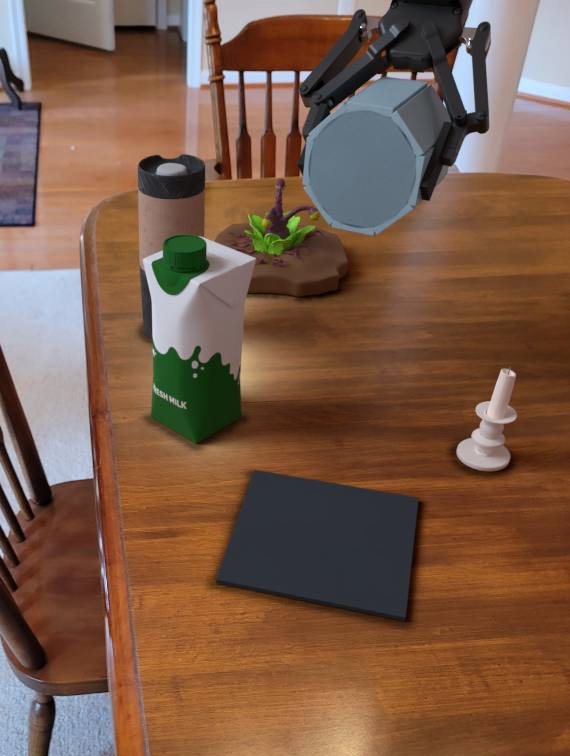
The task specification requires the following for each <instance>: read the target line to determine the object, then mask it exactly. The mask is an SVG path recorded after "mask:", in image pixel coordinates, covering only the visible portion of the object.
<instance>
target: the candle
mask: <svg viewBox="0 0 570 756" xmlns="http://www.w3.org/2000/svg"><path fill="white" fill-rule="evenodd" d="M511 368H512V367H511V366H509V367H508V368H501V369H500V372H499V374H498V378H497V380H496V383H495V385H494V389H493V392H492V395H491V399H490V400H486V401H482V402H479V403H478V404H476V406H475V413H476V415H477V416H478V418H480V419H482V420H481V421H480V423H479V427H478V428H476V429H474V430H473V431H472V433H471V435H470V437H469V438H466V439H464V440H461V441H460V442H459V443H458V445H457V448H456V449H455V451H456V456H457V458H458V459H459V461H460V462H461V463H463V464H464V465H465V466H467V467H469V468H471V469H473V470H477V471H481V472H497V471H501V470H503V469H505V468H506V467H507V466H508V465H509V464H510V461H511V453H510V451H509V450H508V448H507V447H506V446H504V445H505V442H506V437H505V435H504V434H503V431H504V429H505V424H506V425H507V424H511V423H512V422H513V423H514V421H516V419H517V417H518V412H517V411H516V410H515V408H513V407H512V406H511V405H509V403H510V400H511V397H512V393H513V390H514V386H515V381H516V378H517V373H515V371H513V370H511Z"/></svg>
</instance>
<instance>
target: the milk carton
mask: <svg viewBox="0 0 570 756" xmlns="http://www.w3.org/2000/svg"><path fill="white" fill-rule="evenodd" d="M255 262H256V258H254V257H252V256H249V255H247V254H244V253H242V252H239V251H236V250H234V249H231V248H229V247H226V246H224V245H221V244H219V243H216V242H215V240H214V241H213V240H211V239H209V238H206V237H205V236H204V237H201V236H199V237H198V236H194V235H175V236H171V237H169V238H167V239H166V240H165V241H164V242H163V250H162V251H160V252H158V253H155V254H153V255H151V256H148V257H146V258H144V259H143V264H144V268H145V272H146V277H147V281H148V286H149V290H150V295H151V301H152V336H153V339H152V386H151V387H152V389H151V407H150V418H151V419H153V420H155V421H157V422H158V423H160V424H162V425H163V426H166V427H167V428H168V429H170V430H172V431H174V432H175V433H177V434H179V435H181V436H182V437H184V438H186V439H187V440H189V441H191V442H193V443H195V444H199V443H200V442H202V441H204V440H205V439H207V438H208V437H210V436H212V435H214V434H215V433H217V432H219V431H220V430H222V429H224V428H225V427H227V426H229V425H230V424H232V423H234V422H235V421H237V420H239V419H241V418H243V416H242V390H241V389H242V388H241V369H242V355H243V354H242V353H243V336H244V321H245V307H246V299H247V297H248V293H247V292H248V288H249V285H250V281H251V277H252V273H253V270H254V266H255Z"/></svg>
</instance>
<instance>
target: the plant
mask: <svg viewBox="0 0 570 756" xmlns="http://www.w3.org/2000/svg"><path fill="white" fill-rule="evenodd" d="M286 187H287V182H286V181H285V179H283V178H279V179H278V180H276V182H275V189H276V195H275V202H274V205H273V207H271V208H270V210H269V212H266V213H265V216H264V218H261V217H260V216H258V215H256V214H252V213H248V215H247V217H248V220H249V221H250V222H249V223H248V222H242V223H232V224H231V225H229V226H227V227H225V228H224V229H223V230H222V231H220V232H219V233H217V235H216V236H215V240H214V242H216V243H219V244H221V245H224V246H226V247H229V248H231V249H234V250H236V251H239V252H242V253H244V254H247V255H249V256H252V257H254V258H256V262H255V266H254V270H253V273H252V277H251V281H250V285H249V288H248V292H247V294H259V293H261V294H262V293H263V294H274V295H286V296H293V297H297V298H302V297H307V296H308V297H309V296H316V295H317V296H318V295H321V294H325V293H328V292H334V291H337V290H338V288H339V280H340V279H342V278H345V277H346V276H347V272H348V266H349V260H348V257H347V256H346V251H345V249H344V246H343V243H342V240H341V239H340V237H339V236H338V234H336V233H334V232H330V231H327V230H324V229H322V228H319V227H318V226H317V225H304V224H300V222H301V216H300V215H299V216H296V215H297V214H298V213H300V212H303V211H308V214H309V218H310V220H311V221H313V222H314V221H319V218H320V217H321V216H320V215H321V213H320V212H319V210H318V209H317V207H314V206H312V205H310V206H309V205H299V206H297V207H295V208H294V209H292V210H290V211H287V212H284V210H283V196H282V195H283V191H284V190H285V189H286Z"/></svg>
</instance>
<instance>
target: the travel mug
mask: <svg viewBox="0 0 570 756" xmlns="http://www.w3.org/2000/svg"><path fill="white" fill-rule="evenodd" d="M137 197H138V198H137V202H138V203H137V204H138V253H139V254H138V255H139V262H138V263H139V277H140V278H139V280H140V293H141V294H140V297H141V313H142V327H143V332H144V334H145V335H146V336H147V338H149V339H151V340H153V336H152V301H151V295H150V290H149V286H148V281H147V277H146V272H145V268H144V264H143V259H144V258H146V257H148V256H151V255H153V254H155V253H158V252H160V251H162V250H163V242H164V241H165V240H166V239H167V238H169V237H171V236H175V235H194V236H198V237H199V236H201V237H204V238H205V223H206V222H205V220H206V219H205V217H206V216H205V215H206V213H205V212H206V163H205V161H203V159H201V158H200V157H198V156H195V155H192V154H187V153H181V154H179V155H178V156H177V157H174V158H166V157H163V156H161V154H151V155H149V156H146V157H144V158H142V159H141V160H140V161H139V162H138V163H137Z"/></svg>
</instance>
